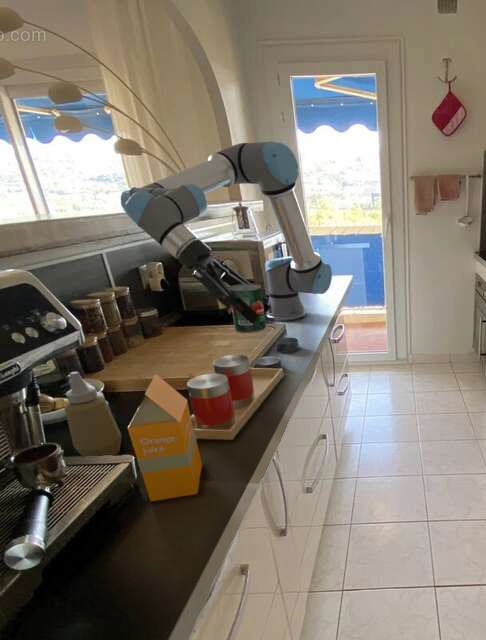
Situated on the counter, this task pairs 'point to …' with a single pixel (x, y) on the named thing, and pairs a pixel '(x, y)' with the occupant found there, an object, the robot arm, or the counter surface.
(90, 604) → the counter surface
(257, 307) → the canned tomato
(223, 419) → the label can
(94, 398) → the squeeze bottle
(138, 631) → the counter surface
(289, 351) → the grey tin
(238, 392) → the can label
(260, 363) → the grey tin
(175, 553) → the counter surface
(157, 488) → the orange juice
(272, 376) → the tray
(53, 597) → the counter surface
